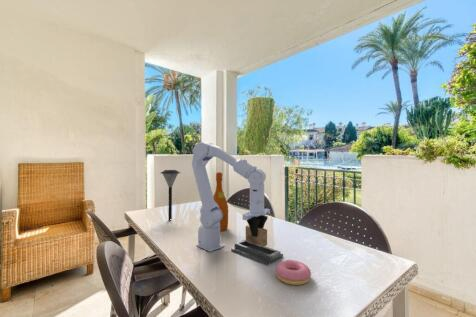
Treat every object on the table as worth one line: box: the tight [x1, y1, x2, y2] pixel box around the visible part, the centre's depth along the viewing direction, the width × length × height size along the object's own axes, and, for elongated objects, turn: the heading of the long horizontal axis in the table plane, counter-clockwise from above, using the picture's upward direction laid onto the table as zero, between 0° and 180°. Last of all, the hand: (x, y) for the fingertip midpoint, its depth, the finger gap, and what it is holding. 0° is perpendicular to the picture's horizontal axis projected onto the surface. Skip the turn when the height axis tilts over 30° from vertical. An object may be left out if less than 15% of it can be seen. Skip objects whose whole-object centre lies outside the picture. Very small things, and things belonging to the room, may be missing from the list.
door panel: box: [245, 224, 268, 247], centre depth 91 cm, size 9×2×6 cm, turn 46°
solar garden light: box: [160, 169, 181, 221], centre depth 139 cm, size 12×12×30 cm
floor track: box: [231, 239, 284, 266], centre depth 91 cm, size 18×10×2 cm, turn 46°
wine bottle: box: [213, 171, 229, 232], centre depth 122 cm, size 10×10×30 cm
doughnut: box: [275, 259, 312, 286], centre depth 73 cm, size 11×11×4 cm
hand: (256, 235), depth 91 cm, fingers closed on door panel, 2 cm apart
